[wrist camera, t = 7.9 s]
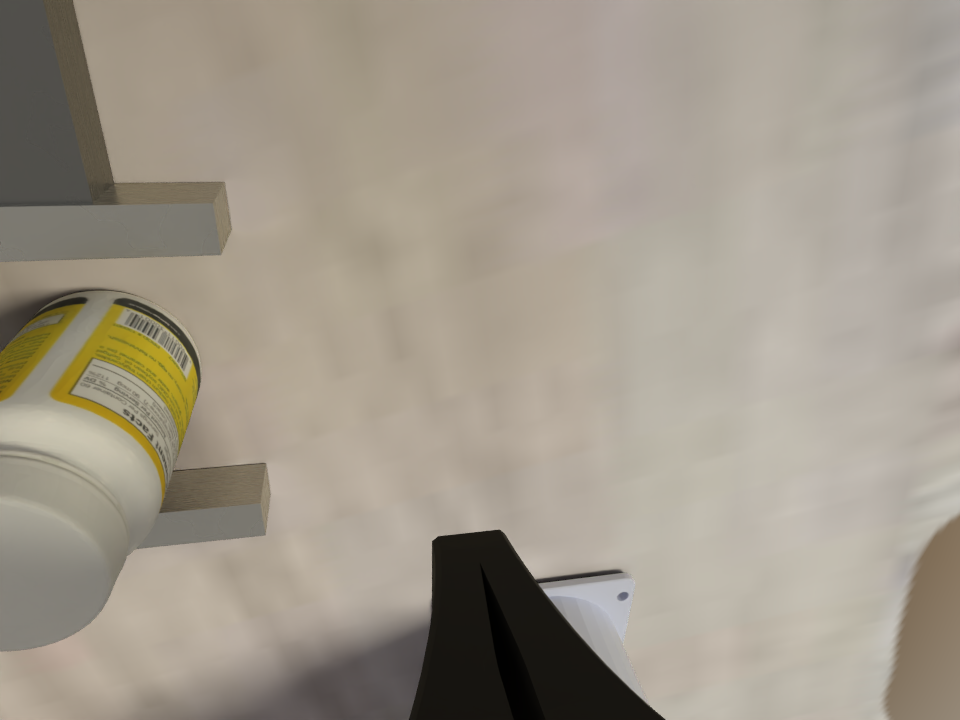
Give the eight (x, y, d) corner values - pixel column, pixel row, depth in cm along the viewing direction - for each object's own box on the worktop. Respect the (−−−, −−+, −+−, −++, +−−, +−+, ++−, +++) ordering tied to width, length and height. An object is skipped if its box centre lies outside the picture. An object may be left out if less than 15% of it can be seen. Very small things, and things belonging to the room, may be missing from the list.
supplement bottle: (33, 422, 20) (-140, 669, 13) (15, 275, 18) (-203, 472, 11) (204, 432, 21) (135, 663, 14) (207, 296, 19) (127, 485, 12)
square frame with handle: (270, 493, 23) (265, 535, 21) (-36, 522, 21) (-68, 570, 19) (134, -429, 12) (101, -497, 11) (-498, -520, 11) (-659, -618, 9)
